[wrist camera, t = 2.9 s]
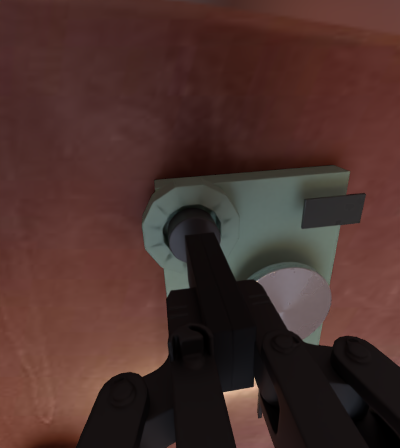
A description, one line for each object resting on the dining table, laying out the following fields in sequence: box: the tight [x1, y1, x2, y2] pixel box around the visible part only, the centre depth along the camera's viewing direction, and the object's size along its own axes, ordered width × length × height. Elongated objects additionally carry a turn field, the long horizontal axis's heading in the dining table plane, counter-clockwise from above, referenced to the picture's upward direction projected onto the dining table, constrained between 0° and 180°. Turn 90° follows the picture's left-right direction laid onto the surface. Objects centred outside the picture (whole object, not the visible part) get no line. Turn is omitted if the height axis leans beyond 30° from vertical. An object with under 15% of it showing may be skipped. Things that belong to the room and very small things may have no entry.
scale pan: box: [247, 193, 366, 340], centre depth 20 cm, size 12×9×1 cm
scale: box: [142, 165, 350, 345], centre depth 22 cm, size 16×14×4 cm
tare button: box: [167, 208, 221, 263], centre depth 17 cm, size 3×3×2 cm
